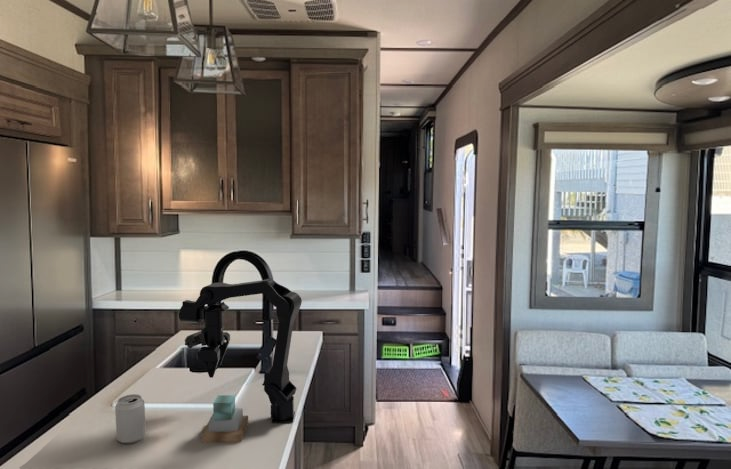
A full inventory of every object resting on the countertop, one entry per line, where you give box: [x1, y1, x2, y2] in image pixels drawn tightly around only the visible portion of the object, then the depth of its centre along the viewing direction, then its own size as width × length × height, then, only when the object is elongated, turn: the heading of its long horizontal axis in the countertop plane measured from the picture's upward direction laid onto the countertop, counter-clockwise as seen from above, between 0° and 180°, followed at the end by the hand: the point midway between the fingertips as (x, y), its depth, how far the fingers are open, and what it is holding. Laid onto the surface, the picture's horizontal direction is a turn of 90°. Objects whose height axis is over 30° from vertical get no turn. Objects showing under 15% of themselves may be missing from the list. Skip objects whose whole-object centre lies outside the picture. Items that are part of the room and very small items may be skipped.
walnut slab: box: [201, 415, 249, 444], centre depth 146 cm, size 11×11×3 cm
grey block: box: [208, 407, 244, 432], centre depth 146 cm, size 8×8×3 cm
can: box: [114, 393, 147, 445], centre depth 142 cm, size 8×8×12 cm
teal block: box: [212, 394, 236, 420], centre depth 145 cm, size 5×5×5 cm
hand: (215, 371), depth 158 cm, fingers open, 9 cm apart
